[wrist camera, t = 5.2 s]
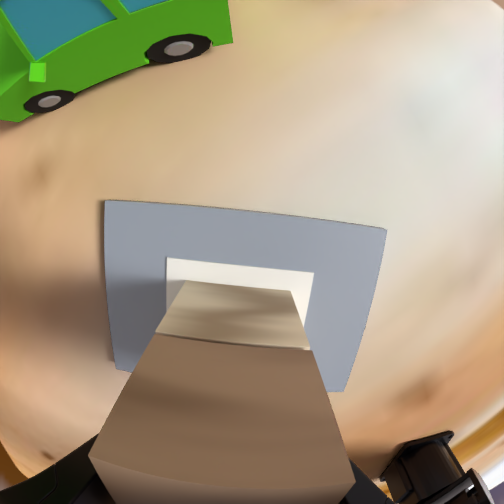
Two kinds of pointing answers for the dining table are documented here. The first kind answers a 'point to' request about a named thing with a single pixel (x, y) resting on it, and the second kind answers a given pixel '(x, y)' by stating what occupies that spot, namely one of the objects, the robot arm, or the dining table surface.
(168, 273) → the board
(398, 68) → the dining table surface
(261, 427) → the walnut block
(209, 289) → the beech block
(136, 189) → the dining table surface
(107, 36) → the toy car
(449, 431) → the robot arm
